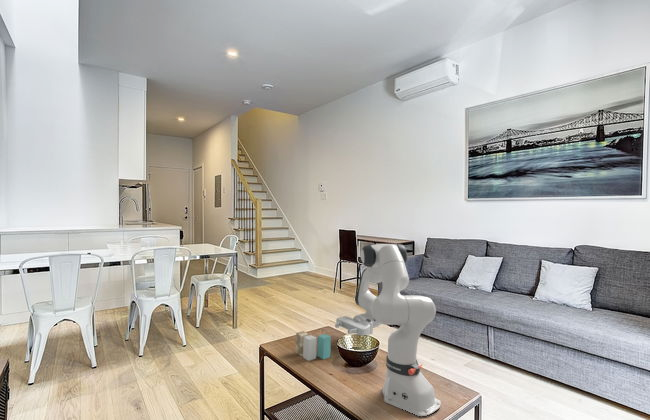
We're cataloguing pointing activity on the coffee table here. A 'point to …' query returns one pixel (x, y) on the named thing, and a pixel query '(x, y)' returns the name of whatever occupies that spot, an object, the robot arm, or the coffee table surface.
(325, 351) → the teal block
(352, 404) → the coffee table surface
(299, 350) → the beige carved figurine
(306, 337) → the grey block
